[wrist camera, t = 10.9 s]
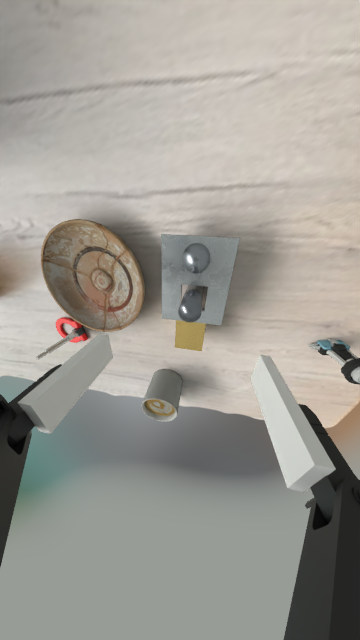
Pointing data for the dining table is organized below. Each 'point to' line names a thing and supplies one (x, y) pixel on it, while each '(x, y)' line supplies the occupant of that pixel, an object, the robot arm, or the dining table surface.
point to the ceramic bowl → (92, 275)
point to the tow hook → (73, 337)
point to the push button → (341, 358)
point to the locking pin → (191, 304)
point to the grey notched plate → (196, 281)
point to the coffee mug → (163, 395)
